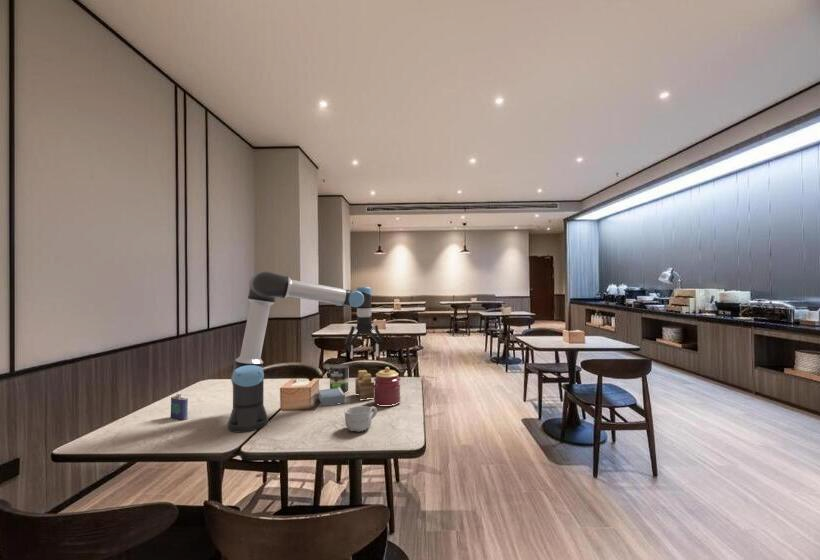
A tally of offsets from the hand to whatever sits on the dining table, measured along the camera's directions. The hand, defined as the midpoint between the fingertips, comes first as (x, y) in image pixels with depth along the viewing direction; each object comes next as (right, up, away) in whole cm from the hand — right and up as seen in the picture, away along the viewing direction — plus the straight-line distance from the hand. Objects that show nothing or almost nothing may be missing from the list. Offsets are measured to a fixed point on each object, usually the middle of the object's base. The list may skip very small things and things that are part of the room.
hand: (364, 357), depth 187 cm
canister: (+13, -20, -11) cm, 26 cm away
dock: (-16, -20, -7) cm, 27 cm away
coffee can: (-15, -21, +8) cm, 27 cm away
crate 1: (-1, -12, +3) cm, 13 cm away
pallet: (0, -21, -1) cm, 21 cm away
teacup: (+4, -20, -43) cm, 47 cm away
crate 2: (+1, -12, -4) cm, 13 cm away
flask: (-77, -21, -30) cm, 86 cm away
